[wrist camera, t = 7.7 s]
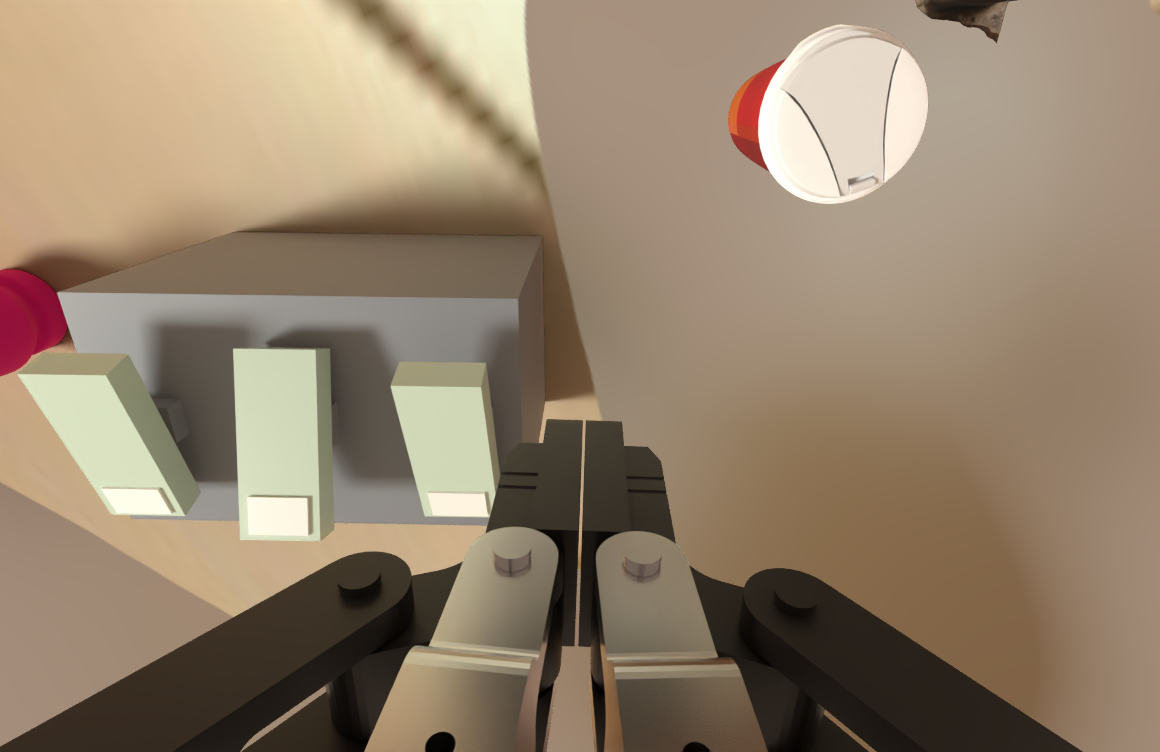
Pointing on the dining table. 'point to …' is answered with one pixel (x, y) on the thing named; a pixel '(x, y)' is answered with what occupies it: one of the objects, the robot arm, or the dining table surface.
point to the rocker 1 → (113, 431)
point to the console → (325, 345)
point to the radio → (968, 13)
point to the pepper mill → (27, 318)
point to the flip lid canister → (833, 114)
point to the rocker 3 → (449, 435)
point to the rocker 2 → (284, 443)
